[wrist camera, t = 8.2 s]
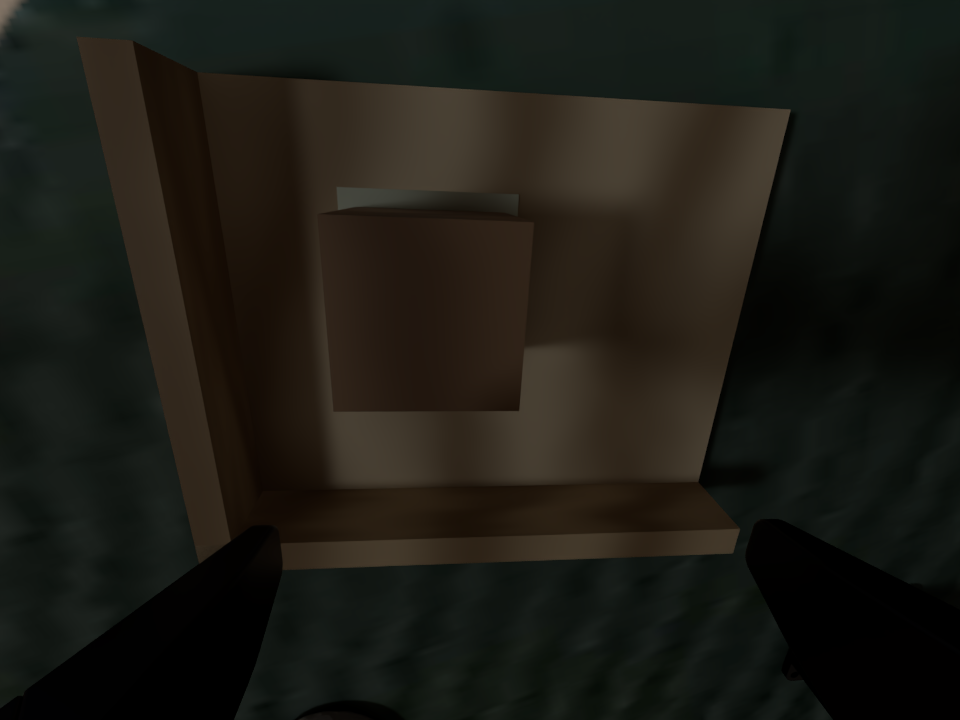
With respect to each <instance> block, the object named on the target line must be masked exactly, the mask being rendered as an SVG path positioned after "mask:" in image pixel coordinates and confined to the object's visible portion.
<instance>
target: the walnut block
mask: <svg viewBox="0 0 960 720" xmlns="http://www.w3.org/2000/svg"><path fill="white" fill-rule="evenodd" d="M317 219H318V231H319V243H320V255H321V267H322V279H323V291H324V303H325V315H326V327H327V340H328V352H329V364H330V376H331V388H332V400H333V412H408V411H519V408H520V396H521V383H522V370H523V357H524V345H525V332H526V319H527V307H528V294H529V281H530V269H531V256H532V243H533V231H534V222H532V221H529V220H526V219H523V218H520V217H517V216H514V215H511V214H508V213H501V212H475V211H450V210H424V209H398V208H372V207H352V208H347V209H342V210H336V211H331V212H326V213H321V214H317Z"/></svg>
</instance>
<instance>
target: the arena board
mask: <svg viewBox="0 0 960 720" xmlns="http://www.w3.org/2000/svg"><path fill="white" fill-rule="evenodd" d="M77 41H78V45H79V49H80V54H81V58H82V62H83V66H84V71H85V75H86V79H87V84H88V88H89V92H90V97H91V101H92V105H93V109H94V114H95V118H96V122H97V127H98V131H99V135H100V140H101V144H102V148H103V152H104V157H105V161H106V165H107V170H108V174H109V178H110V183H111V187H112V191H113V195H114V200H115V204H116V208H117V213H118V217H119V221H120V226H121V230H122V234H123V238H124V243H125V247H126V251H127V256H128V260H129V264H130V269H131V273H132V277H133V281H134V286H135V290H136V294H137V299H138V303H139V307H140V311H141V316H142V320H143V324H144V329H145V333H146V337H147V342H148V346H149V350H150V354H151V359H152V363H153V367H154V372H155V376H156V380H157V385H158V389H159V393H160V397H161V402H162V406H163V410H164V415H165V419H166V423H167V428H168V432H169V436H170V440H171V445H172V449H173V453H174V458H175V462H176V466H177V471H178V475H179V479H180V483H181V488H182V492H183V496H184V501H185V505H186V509H187V514H188V518H189V522H190V526H191V531H192V535H193V539H194V544H195V548H196V552H197V557H198V561H199V564H200V563H201V562H202V561H204V560H205V559H206V558H208V557H209V556H211V555H212V554H213V553H215V552H216V551H217V550H219V549H220V548H222V547H223V546H224V545H226V544H227V543H228V542H230V541H231V540H233V539H234V538H235V537H237V536H238V535H239V534H241V533H242V532H243V531H245V530H246V529H248V528H249V527H251V526H253V525H275V526H276V527H277V528H278V530H279V535H280V543H281V550H282V558H283V569H282V570H292V569H319V568H347V567H374V566H401V565H428V564H456V563H483V562H510V561H537V560H564V559H592V558H619V557H646V556H673V555H701V554H728V553H733V551H734V547H735V544H736V541H737V537H738V534H739V531H740V528H739V527H738V526H737V525H736V524H735V523H734V522H733V521H732V519H731V518H730V517H729V516H728V515H727V514H726V513H725V512H724V510H723V509H722V508H721V507H720V506H719V505H718V504H717V503H716V501H715V500H714V499H713V498H712V497H711V496H710V495H709V494H708V492H707V491H706V490H705V489H704V488H703V487H702V486H701V485H700V484H699V482H698V481H699V477H700V473H701V469H702V465H703V461H704V457H705V453H706V449H707V445H708V441H709V437H710V433H711V429H712V425H713V421H714V417H715V413H716V408H717V404H718V400H719V396H720V392H721V388H722V384H723V380H724V376H725V372H726V368H727V364H728V360H729V356H730V352H731V348H732V344H733V340H734V336H735V332H736V328H737V324H738V320H739V316H740V312H741V308H742V304H743V300H744V296H745V292H746V288H747V284H748V280H749V276H750V272H751V268H752V264H753V260H754V256H755V252H756V248H757V244H758V240H759V236H760V231H761V227H762V223H763V219H764V215H765V211H766V207H767V203H768V199H769V195H770V191H771V187H772V183H773V179H774V175H775V171H776V167H777V163H778V159H779V155H780V151H781V147H782V143H783V139H784V135H785V131H786V127H787V123H788V119H789V115H790V111H791V110H788V109H772V108H756V107H740V106H724V105H708V104H692V103H676V102H660V101H644V100H628V99H612V98H596V97H580V96H564V95H549V94H533V93H517V92H501V91H485V90H469V89H453V88H437V87H421V86H405V85H389V84H373V83H357V82H341V81H325V80H310V79H294V78H278V77H262V76H246V75H230V74H214V73H198V72H195V71H193V70H191V69H189V68H187V67H185V66H183V65H181V64H179V63H177V62H175V61H173V60H171V59H169V58H167V57H165V56H163V55H161V54H159V53H157V52H155V51H152V50H150V49H148V48H146V47H144V46H142V45H140V44H138V43H136V42H134V41H130V40H115V39H101V38H86V37H77ZM352 207H372V208H398V209H424V210H450V211H475V212H501V213H508V214H511V215H514V216H517V217H520V218H523V219H526V220H529V221H532V222H534V231H533V243H532V256H531V269H530V281H529V294H528V307H527V319H526V332H525V345H524V357H523V370H522V383H521V396H520V408H519V411H408V412H333V400H332V388H331V376H330V364H329V352H328V340H327V327H326V315H325V303H324V291H323V279H322V267H321V255H320V243H319V231H318V219H317V214H321V213H326V212H331V211H336V210H342V209H347V208H352Z"/></svg>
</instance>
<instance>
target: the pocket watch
mask: <svg viewBox="0 0 960 720" xmlns="http://www.w3.org/2000/svg"><path fill="white" fill-rule="evenodd" d="M298 720H374V719H372V718H369V717H367V716H365V715H362V714H358V713H354V712H350V711H323V712H318V713H314V714H310V715H307V716H304V717H302V718H300V719H298Z"/></svg>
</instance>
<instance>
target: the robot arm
mask: <svg viewBox="0 0 960 720" xmlns="http://www.w3.org/2000/svg"><path fill="white" fill-rule="evenodd" d="M746 562H747V565H748V568H749V570H750V572H751V574H752V576H753V578H754V579H755V581H756V583H757V585H758V587H759V589H760V591H761V593H762V595H763V597H764V599H765V601H766V603H767V605H768V607H769V609H770V611H771V613H772V615H773V617H774V619H775V620H776V622H777V624H778V626H779V628H780V630H781V632H782V634H783V636H784V638H785V640H786V641H787V643H788V645H789V647H790V649H789V652H788V654H787V657H786V659H785V662H784V664H783V667H782V673H783V674H784V675H785V677H786V678H787V679H788V680H790V681H795V680H804V681H805V683H806V684H807V685H808V687H809V688H810V689H811V691H812V692H813V693H814V695H815V696H816V697H817V699H818V700H819V701H820V703H821V704H822V705H823V707H824V708H825V709H826V711H827V712H828V713H829V715H830V716H831V717H832V719H833V720H960V610H959V609H957V608H955V607H953V606H951V605H949V604H947V603H945V602H943V601H941V600H940V599H938V598H936V597H934V596H932V595H930V594H928V593H926V592H924V591H922V590H920V589H918V588H916V587H914V586H912V585H910V584H908V583H906V582H904V581H902V580H900V579H898V578H896V577H894V576H892V575H890V574H888V573H886V572H884V571H882V570H880V569H878V568H876V567H874V566H872V565H870V564H868V563H866V562H864V561H862V560H860V559H858V558H856V557H854V556H852V555H850V554H848V553H846V552H844V551H842V550H840V549H838V548H836V547H834V546H832V545H830V544H828V543H826V542H824V541H822V540H820V539H818V538H816V537H814V536H812V535H810V534H809V533H807V532H805V531H803V530H801V529H799V528H797V527H795V526H793V525H791V524H789V523H787V522H785V521H782V520H779V519H761V520H758V521H757V522H756V523H755V524H754V526H753V530H752V533H751V536H750V539H749V543H748V546H747V549H746ZM282 569H283V558H282V550H281V543H280V535H279V530H278V528H277V527H276V526H275V525H253V526H251V527H249V528H248V529H246V530H245V531H243V532H242V533H241V534H239V535H238V536H237V537H235V538H234V539H233V540H231V541H230V542H228V543H227V544H226V545H224V546H223V547H222V548H220V549H219V550H217V551H216V552H215V553H213V554H212V555H211V556H209V557H208V558H206V559H205V560H204V561H202V562H201V563H200V564H198V565H197V566H195V567H194V568H193V569H191V570H190V571H189V572H187V573H186V574H184V575H183V576H182V577H180V578H179V579H178V580H176V581H175V582H174V583H172V584H171V585H169V586H168V587H167V588H165V589H164V590H163V591H161V592H160V593H158V594H157V595H156V596H154V597H153V598H152V599H150V600H149V601H147V602H146V603H145V604H143V605H142V606H141V607H139V608H138V609H136V610H135V611H134V612H132V613H131V614H130V615H128V616H127V617H125V618H124V619H123V620H121V621H120V622H119V623H117V624H116V625H115V626H113V627H112V628H110V629H109V630H108V631H106V632H105V633H104V634H102V635H101V636H99V637H98V638H97V639H95V640H94V641H93V642H91V643H90V644H88V645H87V646H86V647H84V648H83V649H82V650H80V651H79V652H77V653H76V654H75V655H73V656H72V657H71V658H69V659H68V660H66V661H65V662H64V663H62V664H61V665H60V666H58V667H57V668H56V669H54V670H53V671H51V672H50V673H49V674H47V675H46V676H45V677H43V678H42V679H40V680H39V681H38V682H36V683H35V684H34V685H32V686H31V687H29V688H28V689H27V690H26V691H25V692H24V694H23V696H17V697H15V698H14V699H13V700H11V701H10V702H9V703H7V704H6V705H4V706H3V707H2V708H0V720H234V718H235V716H236V713H237V711H238V708H239V706H240V703H241V701H242V698H243V696H244V693H245V691H246V688H247V686H248V683H249V680H250V678H251V675H252V672H253V670H254V667H255V664H256V661H257V658H258V654H259V651H260V648H261V644H262V641H263V637H264V634H265V631H266V627H267V624H268V620H269V617H270V613H271V610H272V606H273V603H274V599H275V596H276V592H277V589H278V585H279V582H280V578H281V575H282Z"/></svg>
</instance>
